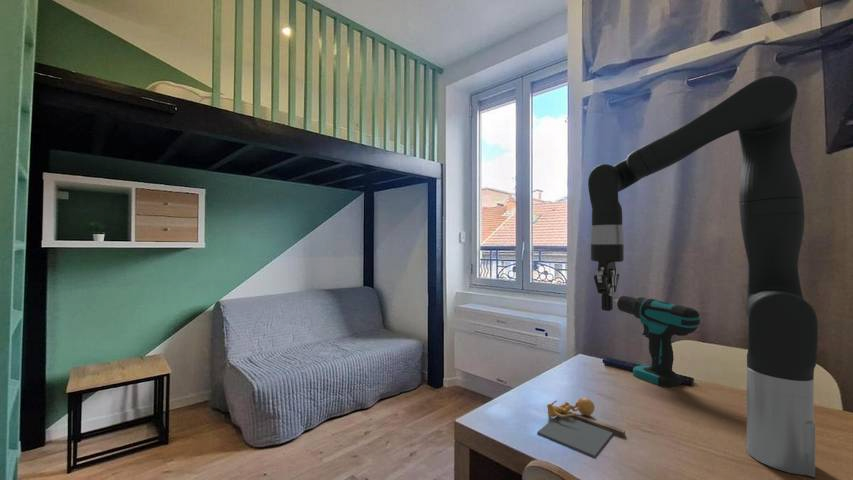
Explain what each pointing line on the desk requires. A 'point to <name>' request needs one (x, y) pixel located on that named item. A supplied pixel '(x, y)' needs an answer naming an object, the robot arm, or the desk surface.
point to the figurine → (582, 405)
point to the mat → (576, 434)
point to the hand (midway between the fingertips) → (607, 310)
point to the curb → (597, 424)
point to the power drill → (660, 335)
